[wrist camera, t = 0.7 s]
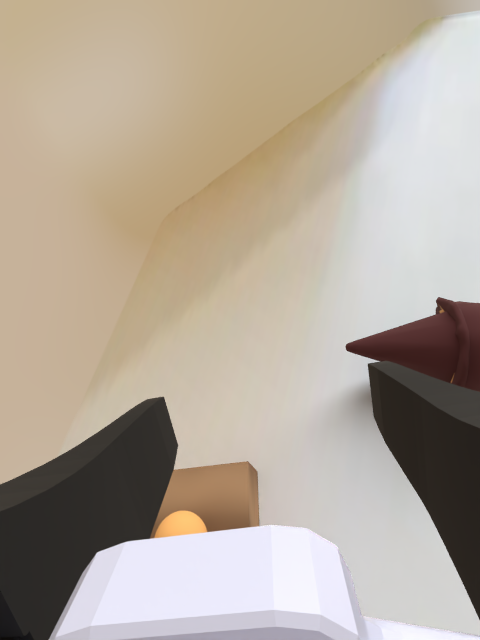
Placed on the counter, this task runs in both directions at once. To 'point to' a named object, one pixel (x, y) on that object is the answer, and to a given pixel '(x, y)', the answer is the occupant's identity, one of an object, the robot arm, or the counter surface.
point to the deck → (214, 496)
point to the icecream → (433, 344)
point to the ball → (180, 525)
